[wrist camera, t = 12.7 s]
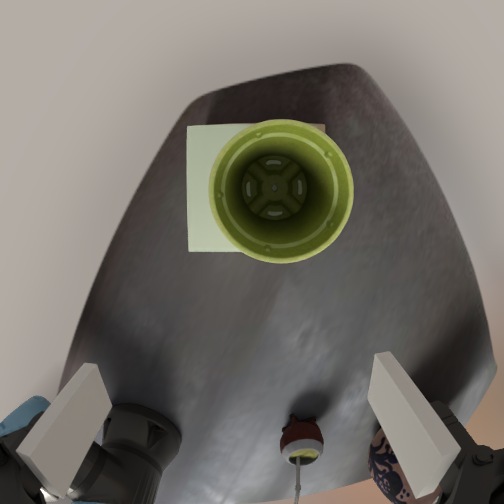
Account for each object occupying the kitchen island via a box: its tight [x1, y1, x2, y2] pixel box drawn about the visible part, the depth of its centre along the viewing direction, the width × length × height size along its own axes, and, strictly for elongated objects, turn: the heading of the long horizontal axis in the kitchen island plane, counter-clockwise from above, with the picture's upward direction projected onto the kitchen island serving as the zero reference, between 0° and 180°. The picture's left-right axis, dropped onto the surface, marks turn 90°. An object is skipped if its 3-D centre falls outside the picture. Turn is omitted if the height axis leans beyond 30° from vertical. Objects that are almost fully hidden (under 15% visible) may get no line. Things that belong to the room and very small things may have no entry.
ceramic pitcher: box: [367, 428, 442, 504], centre depth 34 cm, size 18×21×25 cm
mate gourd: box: [280, 414, 324, 504], centre depth 38 cm, size 8×8×15 cm
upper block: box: [187, 124, 317, 252], centre depth 29 cm, size 12×12×5 cm
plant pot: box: [208, 119, 354, 263], centre depth 23 cm, size 9×9×9 cm
